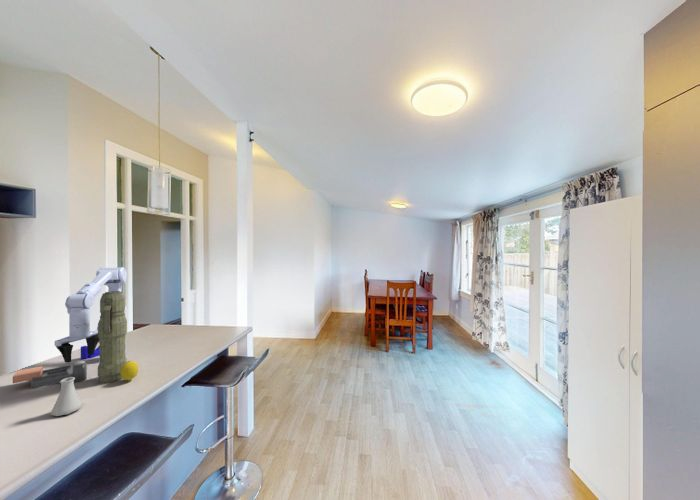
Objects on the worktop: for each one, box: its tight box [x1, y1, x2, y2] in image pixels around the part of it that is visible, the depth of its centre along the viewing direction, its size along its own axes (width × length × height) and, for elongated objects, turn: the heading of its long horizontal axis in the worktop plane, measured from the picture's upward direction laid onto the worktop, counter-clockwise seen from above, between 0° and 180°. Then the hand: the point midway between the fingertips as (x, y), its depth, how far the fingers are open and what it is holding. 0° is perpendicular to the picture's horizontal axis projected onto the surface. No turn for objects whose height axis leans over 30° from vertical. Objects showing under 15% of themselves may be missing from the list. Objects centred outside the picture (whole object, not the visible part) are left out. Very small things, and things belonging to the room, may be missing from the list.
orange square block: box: [12, 365, 44, 384], centre depth 104 cm, size 6×6×2 cm
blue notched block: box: [80, 345, 100, 360], centre depth 134 cm, size 12×4×6 cm, turn 172°
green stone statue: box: [97, 291, 128, 385], centre depth 109 cm, size 9×12×35 cm
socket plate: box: [30, 364, 73, 389], centre depth 109 cm, size 12×10×3 cm
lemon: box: [120, 360, 139, 382], centre depth 107 cm, size 6×6×8 cm
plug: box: [72, 360, 88, 384], centre depth 108 cm, size 4×4×7 cm
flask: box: [49, 377, 85, 417], centre depth 88 cm, size 7×7×10 cm
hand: (79, 358), depth 108 cm, fingers open, 7 cm apart
